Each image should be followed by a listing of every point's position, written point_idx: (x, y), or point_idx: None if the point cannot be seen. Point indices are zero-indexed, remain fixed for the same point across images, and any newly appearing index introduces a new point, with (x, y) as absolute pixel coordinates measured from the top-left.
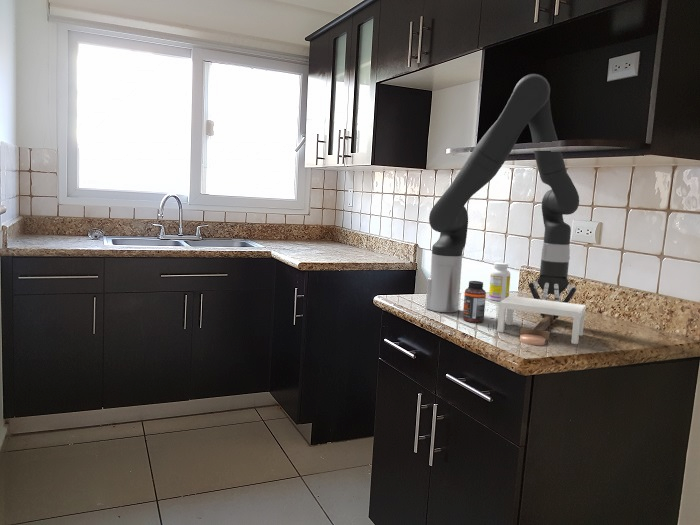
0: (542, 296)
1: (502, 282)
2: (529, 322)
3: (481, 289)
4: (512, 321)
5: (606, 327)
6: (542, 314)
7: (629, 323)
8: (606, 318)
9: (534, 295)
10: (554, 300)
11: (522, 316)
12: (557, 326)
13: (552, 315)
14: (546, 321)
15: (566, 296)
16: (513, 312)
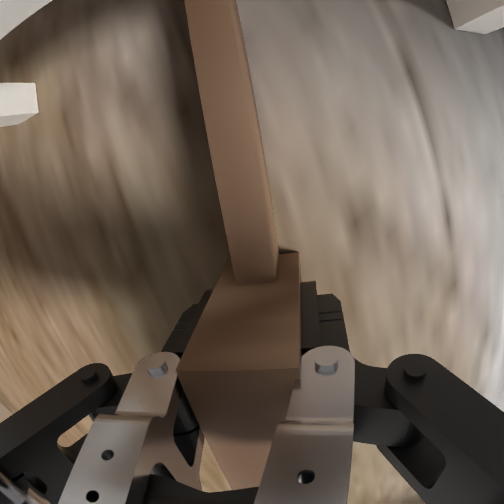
0: (348, 424)
1: None
2: (390, 183)
3: None
4: (461, 15)
5: (50, 366)
6: (319, 302)
7: (70, 445)
8: None
9: (470, 412)
10: (251, 481)
11: (455, 337)
12: (177, 212)
13: (221, 291)
14: (193, 48)
15: (33, 433)
16: (501, 5)
